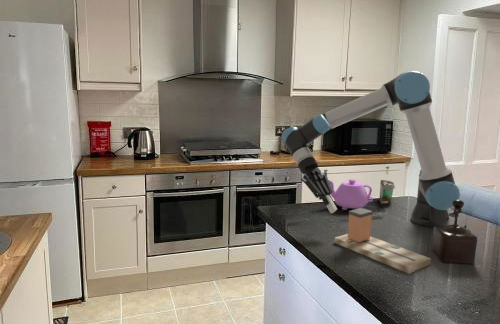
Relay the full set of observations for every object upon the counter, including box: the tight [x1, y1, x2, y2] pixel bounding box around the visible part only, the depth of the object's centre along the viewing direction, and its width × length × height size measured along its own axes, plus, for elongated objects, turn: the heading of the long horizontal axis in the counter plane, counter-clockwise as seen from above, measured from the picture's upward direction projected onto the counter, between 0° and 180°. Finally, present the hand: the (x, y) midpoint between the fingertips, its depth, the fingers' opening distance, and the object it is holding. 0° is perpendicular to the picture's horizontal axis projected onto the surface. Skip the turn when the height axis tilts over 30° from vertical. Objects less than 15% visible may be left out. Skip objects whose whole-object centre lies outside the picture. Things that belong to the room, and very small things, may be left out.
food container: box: [379, 179, 396, 205], centre depth 200 cm, size 12×6×10 cm, turn 168°
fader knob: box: [347, 207, 373, 242], centre depth 144 cm, size 5×7×10 cm
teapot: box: [328, 178, 374, 211], centre depth 189 cm, size 22×16×14 cm
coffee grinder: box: [431, 199, 478, 265], centre depth 137 cm, size 16×11×18 cm
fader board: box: [334, 233, 432, 275], centre depth 138 cm, size 30×12×2 cm, turn 37°
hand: (334, 211), depth 152 cm, fingers closed
